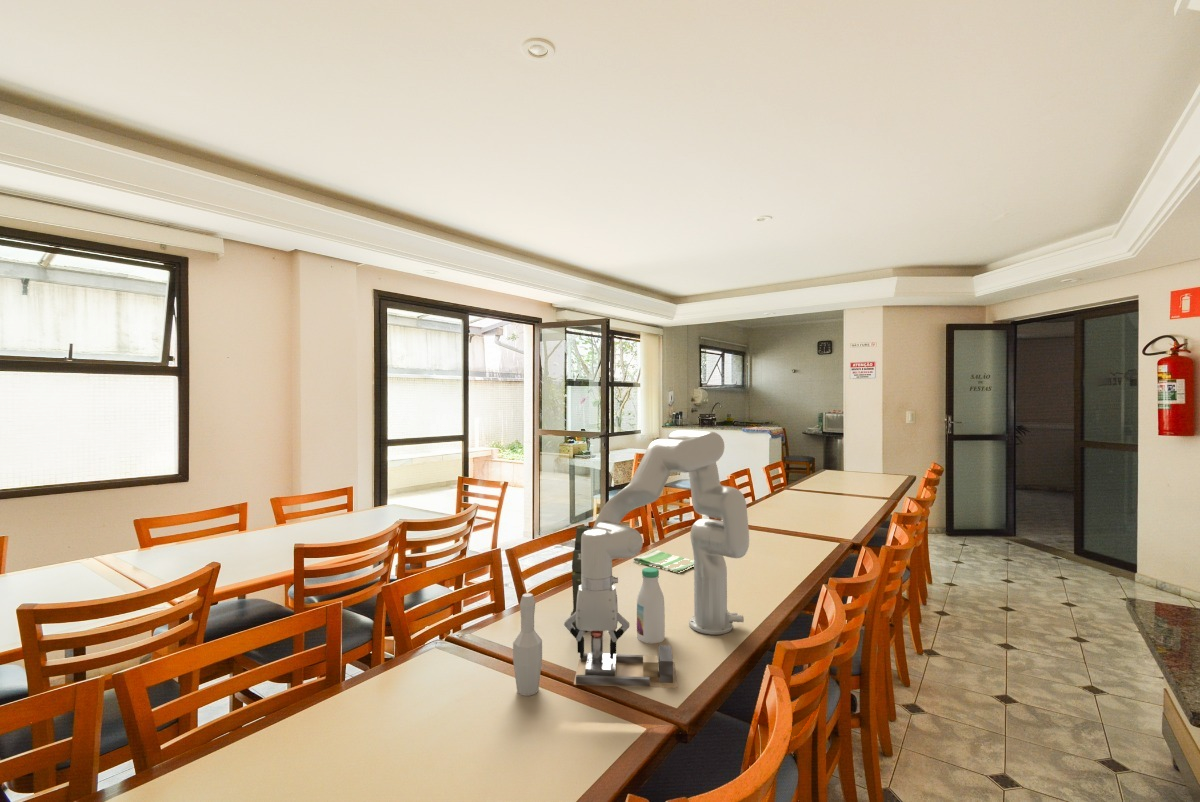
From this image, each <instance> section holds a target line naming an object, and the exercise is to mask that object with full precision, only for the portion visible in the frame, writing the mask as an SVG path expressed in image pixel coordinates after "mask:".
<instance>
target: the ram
mask: <svg viewBox="0 0 1200 802" xmlns="http://www.w3.org/2000/svg"><path fill="white" fill-rule="evenodd" d="M603 637H604V631H590V646H591V647H590V651H591V652H588V653H587V654H588V657H587V662H586V667H585V675H599V676H615V673H616V654H617V653H616V654H613V659H611V658H610V653H603V652H604V645H603V644H604V643H603V642H604V640H603V639H604V638H603Z"/></svg>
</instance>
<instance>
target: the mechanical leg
mask: <svg viewBox="0 0 1200 802" xmlns="http://www.w3.org/2000/svg"><path fill="white" fill-rule="evenodd" d="M591 529H593V527H591V525H577V526H576V530H575V531H576V532H575V537H574V538H575V539H574V549H573V550H572V551H573V552H572V559H571V560H572V561H571V562H572V563H571V583H572V585H571V586H572V606H573V607H572V611H571V613H570V616H572V615H573V614H574V613H575V612H576V603H577V593H578V588H579V586H580V585H581V536H582V534H583V533H584V532H585V531H587V530H591ZM572 625H573V626H574V627H575V628H576V620H575V621H574V622H573V623H572ZM576 629H577V628H576ZM577 630H578V631H579V629H577ZM587 632H588V631H585V632H584V633H587Z"/></svg>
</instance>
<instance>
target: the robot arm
mask: <svg viewBox="0 0 1200 802" xmlns="http://www.w3.org/2000/svg"><path fill="white" fill-rule="evenodd" d="M724 452H725V441H724V438H723V437H722V436H721V435H720V434H719V433H717V432H715V431H709V430H708V431H707V430H693V429H692V430H691V429H680V430H679V429H678V430H675V431H672V432H671V433H669V435H668V437H667V438H658V439H655V440H653V441H651V442H650V443H649V445H648V447H647V449H646V451H645V453H644V454H643V457H642V458H641V460H640V462H639V465H638V466H637V468H636V470H635V472H634V474H633V477H632V478H631V480H630V481H629V483H628V484H627V485H626V486H625V487H624V488H622V489H620V490H619V491H617V493H616V494H614V495H613V496H612V497H611V498H610V499H609V500H608V501H606V503H605V504H604V505H603V507H602V508H601V510H600V512H599V514H598V515H597V518H596V519H595V521H594V523H593V527H592V528H593V529H591V530H587V531H585V532H584V533H583V534H582V536H581V585H580V586H579V588H578V593H577V603H576V612H575V613H574V614H573V615H572V616H571V615H570V616H569V617H567V619H566V620H564V623H563V625H564V627H565V628H566V629H567V630H568V631H569V633H570V634H571V635H572V636H573V637H574V638H575V640H576V641H577V643H576V645H577V654H579V659H581V658H582V657H583V656H584V653H585V637H584V634H585V633H586V632H585V631H587V632H591V631H603V632H607V633H608V635H609V637H610V641H609V654H610V658H611V659H613V654H617V642H618V640H619V639H620V638H621V637H622V636H623V635H624V633H625V632H627V630H628V629H629V628H630V622H629V621H628V620H627V619H626V618H625V617H623V616H622V615H621V614H620V613H619V606H618V594H617V588H616V585H614V584H619V577H615V576H614V575H613V560H616V559H618V560H619V559H629V558H634V557H636V556H637V555H638V554H639V553H640V551H641V550H642V548H643V546H644V545H643V541H644V540H643V537H642V534H641V532H639V531H638V530H637V529H635V528H634V527H630V526H628V525H623V524H620V523H621V521H622V520H623V519H624V517H625V516H627V515H628V514H629V513H630V512H631V511H634V510H635V509H637V508H638V509H639V508H641V507H644V506H647V505H650V504H652V503H655V502H656V501H658V499H659V498H660V496H661V494H662V492H663V490H664V487H665V485H666V483H667V481H668V479H669V477H670V476H671V473H672V472H677V473H685V474H687V473H688V477H689V484H690V494H691V501H692V507H693V510H694V512H695V513H696V514H697V515H700V516H704V517H705V518H698V519H697V520H696V521H695V522H694V523H693V524H692V526H691V528H690V543H691V548H692V553H693V560H694V568H693V569H694V571H693V573H694V574H693V577H694V578H693V580H694V583H693V584H694V585H693V586H694V587H693V590H694V591H693V592H694V593H693V595H694V596H693V597H694V599H693V600H694V601H693V603H694V604H693V605H694V606H693V607H694V615H693V616H691V617H690V618H689V620H688V624H689V627H690V628H691V629H692V630H694V631H696V632H698V633H700V634H705V635H713V636H714V635H718V636H719V635H724V634H727V633H730V632H731V631H732V630H733V625H734V624H733V623H735V622H736V623H744V620H745V619H744V617H745V616H744V614H743V615H740V614H738V612H730V611H728V578H727V577H728V570H727V568H728V567H727V562H726V560H725V557H727V558H730V559H741V558H743V557H744V556H746V554H747V552H748V550H749V548H750V529H749V520H748V519H749V516H748V510H747V509H748V508H747V502H746V499H745V496H744V494H743V493H742V491H740V490H739V489H738V488H736V487H734V486H727V485H722V484H721V481H720V475H719V467H718V465H717V462H718V461H719V460H720V459H721V458H722V457H723V454H724ZM707 517H708V518H707ZM717 519H718V520H717ZM575 620H576V628H577V629H579V631H578V630H577V629H576V628H575V627H574V626H573V625H572V623H573V622H574V621H575ZM618 623H619V624H620V625H621V626H620V627H619V628H618ZM617 628H618V629H617Z"/></svg>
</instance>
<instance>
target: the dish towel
mask: <svg viewBox="0 0 1200 802" xmlns="http://www.w3.org/2000/svg"><path fill="white" fill-rule="evenodd" d="M665 559H668V560H665ZM663 560H665V561H667V562H663V563H661V564H660V563H657V562H660V561H663ZM682 560H688V561H690V562H692V563H690V564H688V565H682V564H681V565H680V566H679V567H676V568H675V567H673V568H668V566H670V564H678V562H680V561H682ZM634 562H636V563H635V564H638V563H641V564H640V565H642V564H644V565H643V566H646V565H652V566H656V567H660V568H664V569H668V570H672V571H674V572H680V571H683V570H685V569H687V568H688V567H690V566H693V565H694V559H690V558H685V557H683V556H678V555H673V554H671V553H668V552H664V551H661V550H659V549H655V550H652V551H649V552H648V553H644V554H643V555H639V556H634V557H633V563H634ZM674 572H673V573H674Z"/></svg>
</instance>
